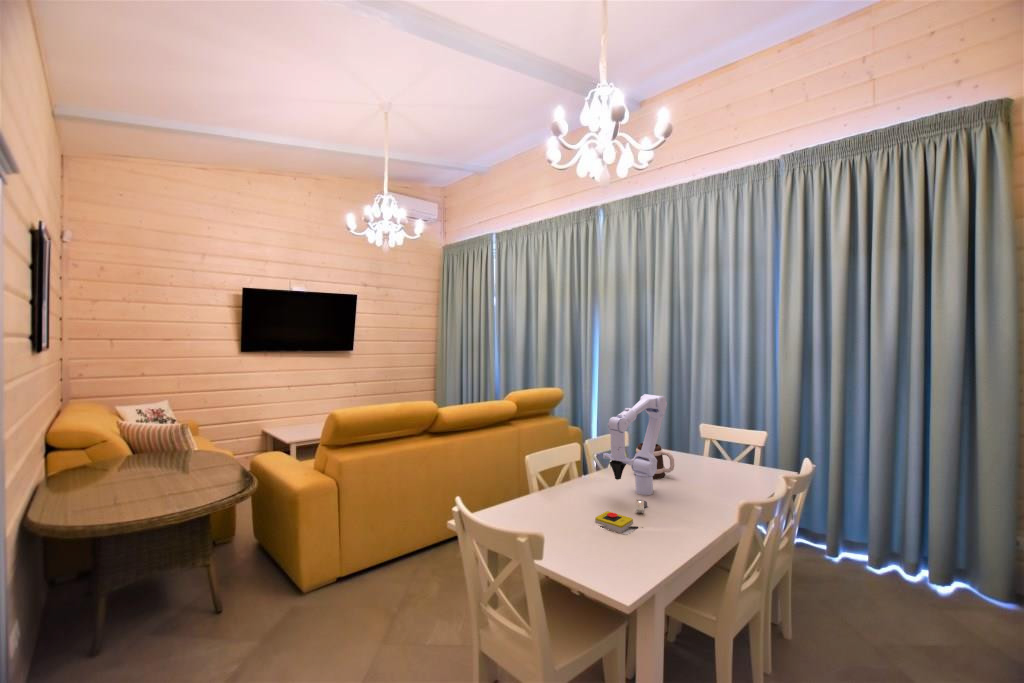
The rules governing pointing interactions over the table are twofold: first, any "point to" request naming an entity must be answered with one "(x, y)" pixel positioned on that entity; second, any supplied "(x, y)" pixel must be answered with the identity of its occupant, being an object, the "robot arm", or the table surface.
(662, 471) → the mug
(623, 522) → the emergency button
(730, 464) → the table surface
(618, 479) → the robot arm
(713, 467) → the table surface
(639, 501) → the crank
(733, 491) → the table surface
